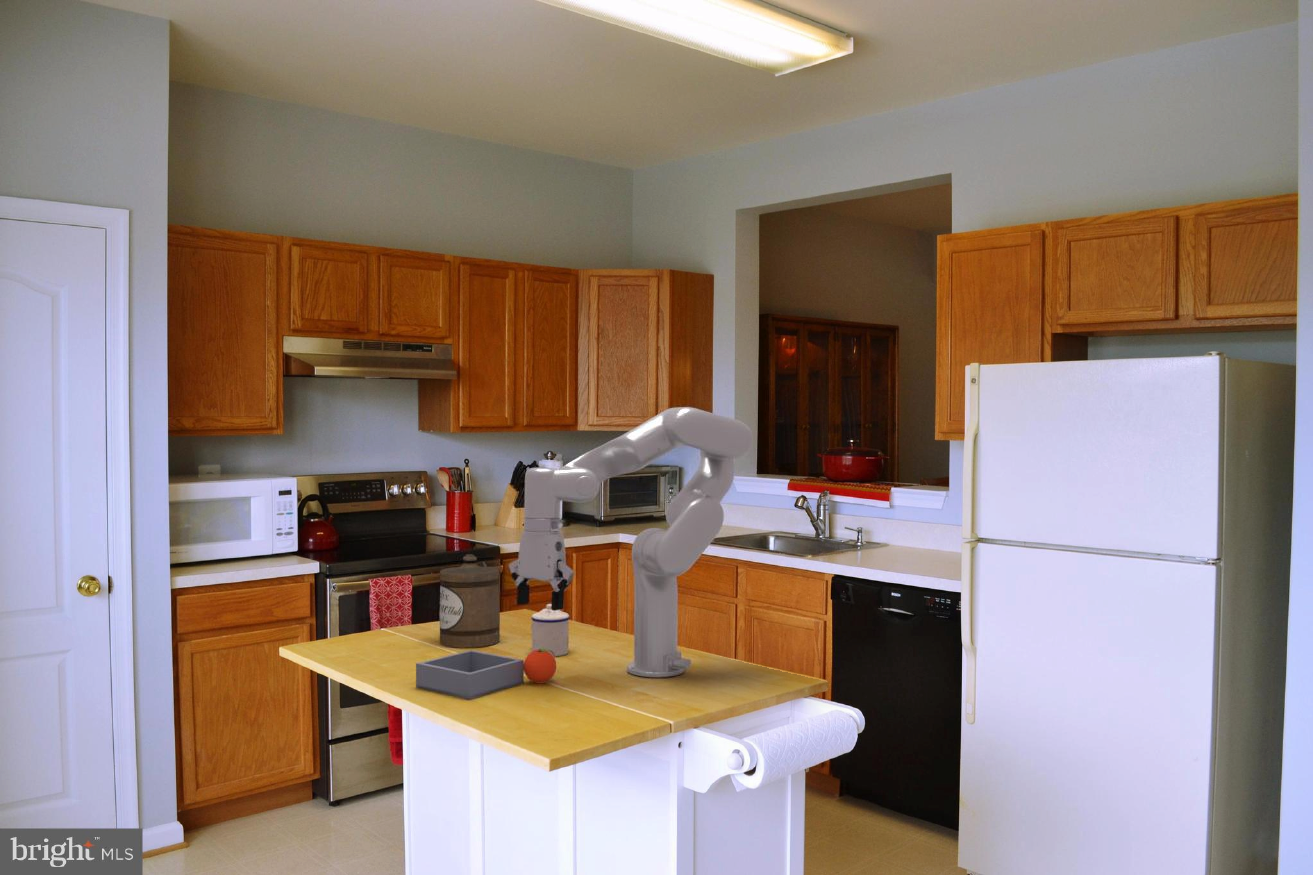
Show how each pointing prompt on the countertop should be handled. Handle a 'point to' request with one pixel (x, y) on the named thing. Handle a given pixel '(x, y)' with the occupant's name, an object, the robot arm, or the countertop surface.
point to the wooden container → (469, 605)
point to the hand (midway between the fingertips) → (540, 606)
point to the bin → (469, 674)
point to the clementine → (540, 666)
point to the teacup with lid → (550, 631)
